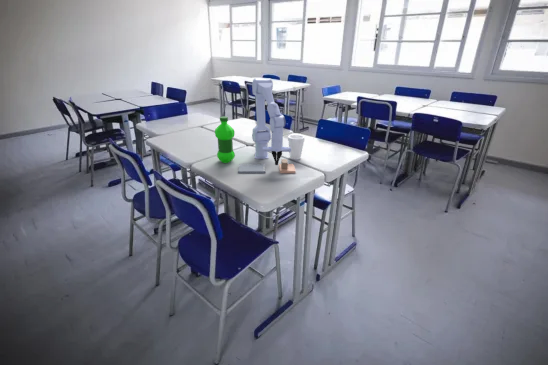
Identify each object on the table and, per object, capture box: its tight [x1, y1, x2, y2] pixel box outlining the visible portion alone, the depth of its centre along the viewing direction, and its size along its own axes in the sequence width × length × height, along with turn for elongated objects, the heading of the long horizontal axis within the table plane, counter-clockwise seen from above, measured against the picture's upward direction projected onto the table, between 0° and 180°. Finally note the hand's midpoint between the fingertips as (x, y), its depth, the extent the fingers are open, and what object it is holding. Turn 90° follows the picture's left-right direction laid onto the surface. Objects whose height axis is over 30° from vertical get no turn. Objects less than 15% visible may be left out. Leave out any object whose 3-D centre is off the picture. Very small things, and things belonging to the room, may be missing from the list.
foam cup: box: [287, 133, 306, 160], centre depth 164 cm, size 10×9×13 cm
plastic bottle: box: [214, 116, 236, 164], centre depth 155 cm, size 10×10×25 cm
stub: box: [278, 158, 297, 174], centre depth 150 cm, size 10×8×5 cm
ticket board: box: [237, 163, 266, 174], centre depth 150 cm, size 10×14×1 cm
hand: (276, 164), depth 149 cm, fingers closed
